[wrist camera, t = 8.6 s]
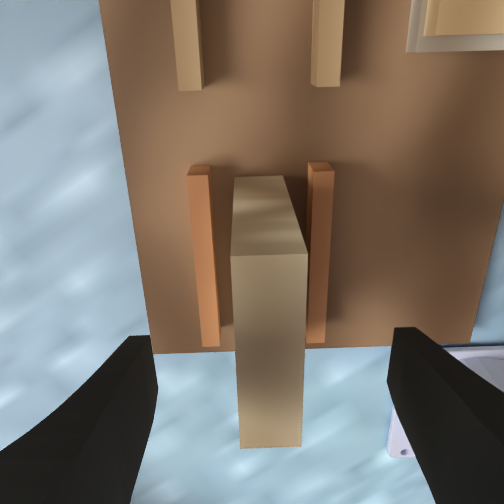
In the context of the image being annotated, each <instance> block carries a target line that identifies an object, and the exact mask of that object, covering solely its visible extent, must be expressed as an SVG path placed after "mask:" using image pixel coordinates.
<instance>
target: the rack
mask: <svg viewBox="0 0 504 504" xmlns="http://www.w3.org/2000/svg"><path fill="white" fill-rule="evenodd" d="M411 2H412V0H99V6H100V12H101V19H102V25H103V32H104V38H105V44H106V51H107V57H108V64H109V70H110V77H111V83H112V90H113V96H114V103H115V109H116V116H117V122H118V129H119V135H120V141H121V148H122V154H123V161H124V167H125V174H126V180H127V187H128V193H129V200H130V206H131V213H132V219H133V226H134V232H135V238H136V245H137V251H138V258H139V264H140V271H141V277H142V284H143V290H144V297H145V303H146V310H147V316H148V322H149V329H150V335H151V342H152V348H153V354H169V353H198V352H227V351H235V337H234V318H233V298H232V279H231V260H230V253H231V234H232V215H233V196H234V177H248V176H281V175H283V178H284V181H285V184H286V187H287V190H288V193H289V196H290V199H291V203H292V206H293V209H294V212H295V215H296V218H297V221H298V224H299V227H300V230H301V234H302V237H303V240H304V243H305V246H306V249H307V252H308V271H307V300H306V329H305V349H315V348H344V347H373V346H392V341H393V333H394V327H416V328H417V329H419V330H420V331H422V332H423V333H424V334H426V335H427V336H428V337H429V338H431V339H432V340H433V341H435V342H436V343H437V344H460V343H470V340H471V335H472V331H473V327H474V323H475V318H476V314H477V310H478V306H479V302H480V297H481V293H482V289H483V285H484V281H485V276H486V272H487V268H488V264H489V260H490V255H491V251H492V247H493V243H494V239H495V234H496V230H497V226H498V222H499V218H500V213H501V209H502V205H503V201H504V50H487V51H451V52H406V45H407V37H408V28H409V19H410V11H411Z"/></svg>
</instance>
